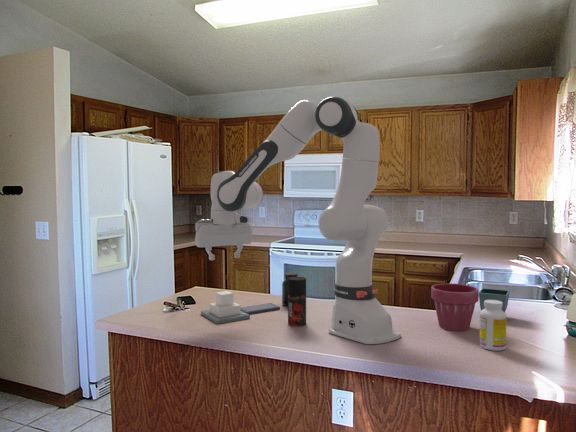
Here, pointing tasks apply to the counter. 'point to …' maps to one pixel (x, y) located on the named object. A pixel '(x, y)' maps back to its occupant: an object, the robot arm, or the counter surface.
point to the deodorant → (297, 301)
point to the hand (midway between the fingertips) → (224, 258)
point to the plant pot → (454, 305)
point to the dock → (224, 313)
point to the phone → (260, 308)
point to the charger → (224, 299)
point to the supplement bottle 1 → (286, 287)
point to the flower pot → (493, 297)
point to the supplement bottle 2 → (493, 326)
